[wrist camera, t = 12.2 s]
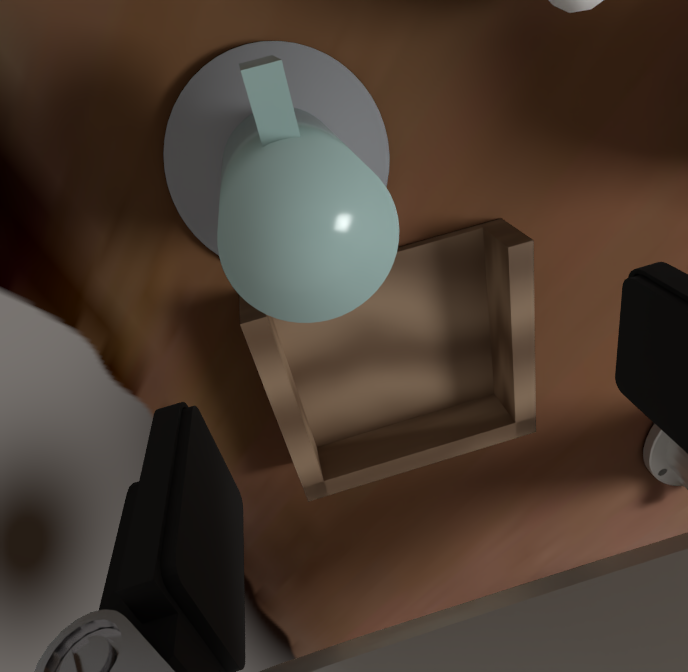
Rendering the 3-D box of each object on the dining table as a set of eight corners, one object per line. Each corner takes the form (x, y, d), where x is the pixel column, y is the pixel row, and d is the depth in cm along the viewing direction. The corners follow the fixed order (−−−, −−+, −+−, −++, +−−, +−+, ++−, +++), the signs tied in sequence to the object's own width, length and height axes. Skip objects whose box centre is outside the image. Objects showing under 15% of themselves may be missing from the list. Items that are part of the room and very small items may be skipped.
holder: (510, 398, 40) (535, 431, 37) (301, 461, 39) (308, 501, 36) (501, 218, 32) (533, 240, 29) (238, 292, 31) (239, 324, 28)
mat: (401, 238, 31) (404, 242, 31) (212, 292, 31) (211, 296, 30) (364, 13, 25) (367, 13, 24) (124, 75, 24) (122, 76, 24)
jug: (316, 38, 25) (369, 41, 15) (353, 212, 29) (410, 296, 20) (185, 72, 24) (157, 96, 15) (244, 243, 29) (250, 342, 20)
